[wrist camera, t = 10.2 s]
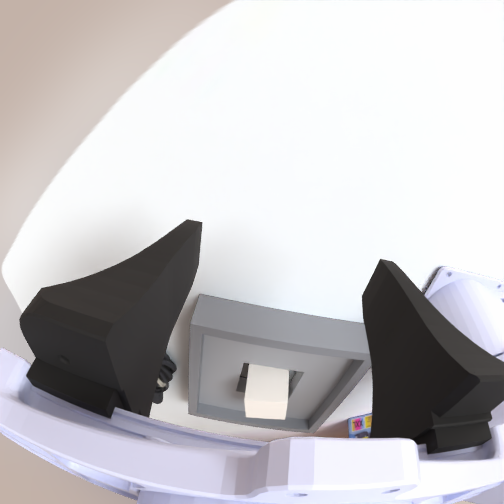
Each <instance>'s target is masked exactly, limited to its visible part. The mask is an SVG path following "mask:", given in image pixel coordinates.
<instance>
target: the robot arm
mask: <svg viewBox="0 0 504 504" xmlns="http://www.w3.org/2000/svg"><path fill="white" fill-rule="evenodd" d="M201 232H202V222H198V221H193V220H186V221H184V222H183V223H181V224H180V225H179V226H177V227H176V228H175V229H173V230H172V231H171V232H169V233H168V234H166V235H165V236H164V237H162V238H161V239H159V240H158V241H157V242H155V243H154V244H152V245H151V246H149V247H147V248H146V249H144V250H143V251H141V252H140V253H138V254H136V255H134V256H133V257H131V258H129V259H127V260H125V261H123V262H121V263H119V264H117V265H115V266H112V267H110V268H107V269H105V270H103V271H100V272H98V273H95V274H93V275H90V276H87V277H84V278H81V279H77V280H74V281H71V282H67V283H63V284H58V285H54V286H49V287H44V288H41V290H40V291H39V292H38V293H37V295H36V296H35V297H34V299H33V300H32V301H31V303H30V304H29V305H28V307H27V308H26V309H25V311H24V312H23V313H22V315H21V317H20V328H21V330H22V333H23V335H24V337H25V339H26V341H27V343H28V344H29V346H30V348H31V350H32V352H33V353H34V355H35V357H36V359H35V360H34V362H33V364H32V365H31V364H30V363H29V362H27V360H25V359H24V358H22V357H20V356H18V355H16V354H14V353H12V352H10V351H9V350H7V349H5V348H0V432H1V433H2V434H3V435H4V436H6V437H7V438H9V439H11V440H12V441H14V442H15V443H17V444H19V445H20V446H22V447H23V448H25V449H27V450H29V451H30V452H32V453H34V454H35V455H37V456H39V457H41V458H42V459H44V460H46V461H48V462H50V463H52V464H53V465H56V466H58V467H59V468H61V469H63V470H65V471H67V472H69V473H71V474H73V475H75V476H77V477H80V478H82V479H84V480H86V481H88V482H91V483H93V484H95V485H97V486H100V487H102V488H105V489H107V490H110V491H112V492H115V493H117V494H120V495H123V496H125V497H128V498H131V499H134V500H137V504H452V503H456V502H459V501H462V500H463V501H468V502H472V503H476V504H504V281H502V280H498V279H494V278H490V277H486V276H482V275H479V274H475V273H471V272H467V271H463V270H459V269H455V268H451V267H447V266H444V267H441V268H440V269H439V271H438V273H437V274H436V276H435V278H434V279H433V281H432V283H431V284H430V286H429V288H428V289H427V291H426V293H425V294H424V295H423V294H422V292H421V291H420V290H419V289H418V288H417V287H416V286H415V284H414V283H413V282H412V281H411V280H410V279H409V278H408V276H407V275H406V274H405V273H404V272H403V271H402V270H401V269H400V268H399V267H398V266H397V265H396V264H395V263H394V262H392V261H387V260H383V259H380V261H379V263H378V265H377V267H376V269H375V271H374V273H373V275H372V277H371V279H370V281H369V283H368V285H367V287H366V289H365V291H364V293H363V295H362V307H363V319H364V325H365V330H366V335H367V341H368V346H369V352H370V358H371V365H372V379H373V405H372V421H371V432H370V438H327V437H288V438H283V439H277V440H273V441H271V442H264V441H257V440H249V439H243V438H237V437H231V436H225V435H220V434H214V433H209V432H204V431H200V430H195V429H191V428H186V427H182V426H178V425H174V424H170V423H166V422H163V421H159V420H155V419H152V418H149V415H150V410H151V406H152V401H153V397H154V393H155V389H156V385H157V381H158V377H159V373H160V369H161V366H162V362H163V358H164V355H165V352H166V348H167V345H168V342H169V338H170V335H171V333H172V330H173V328H174V325H175V323H176V321H177V319H178V316H179V314H180V312H181V310H182V307H183V305H184V303H185V301H186V298H187V296H188V294H189V292H190V289H191V287H192V285H193V281H194V278H195V275H196V272H197V268H198V265H199V255H200V243H201ZM447 273H448V274H447Z"/></svg>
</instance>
